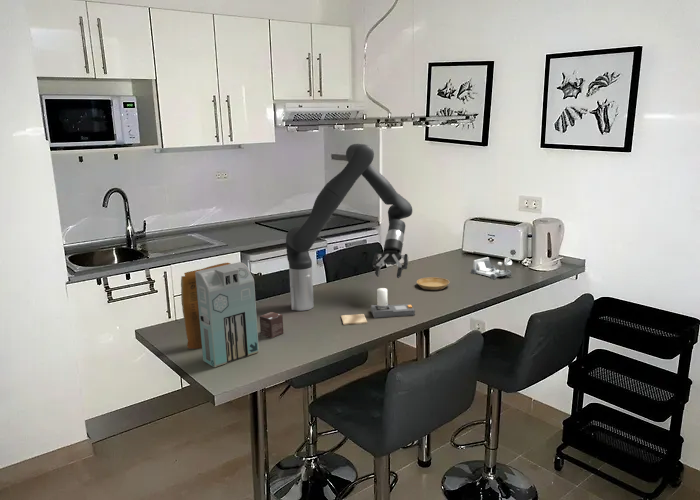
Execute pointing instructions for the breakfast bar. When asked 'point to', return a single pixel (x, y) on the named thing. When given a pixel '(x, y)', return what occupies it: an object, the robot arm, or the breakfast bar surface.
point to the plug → (382, 299)
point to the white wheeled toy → (490, 268)
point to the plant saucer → (432, 283)
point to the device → (227, 313)
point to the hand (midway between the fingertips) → (387, 276)
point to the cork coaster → (354, 319)
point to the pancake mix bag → (192, 307)
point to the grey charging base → (393, 311)
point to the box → (271, 324)
